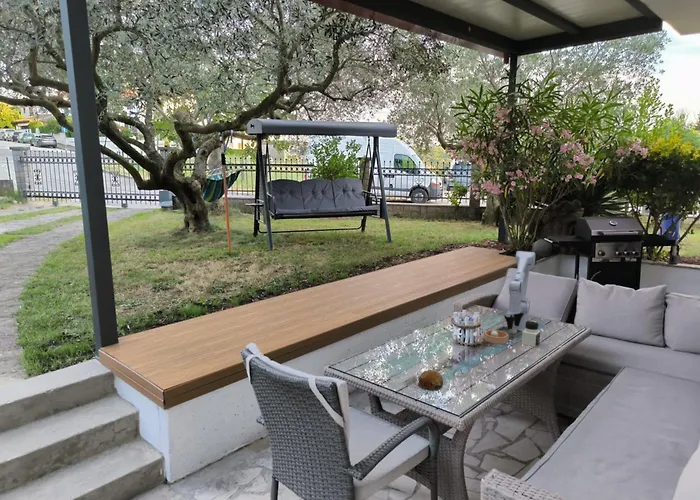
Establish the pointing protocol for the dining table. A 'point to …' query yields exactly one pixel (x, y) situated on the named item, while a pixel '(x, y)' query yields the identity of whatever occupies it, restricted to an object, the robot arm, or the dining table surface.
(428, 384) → the bread roll
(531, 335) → the medicine bottle
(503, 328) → the parts tray
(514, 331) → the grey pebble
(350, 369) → the dining table surface
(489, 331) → the bowl
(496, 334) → the cream pebble
